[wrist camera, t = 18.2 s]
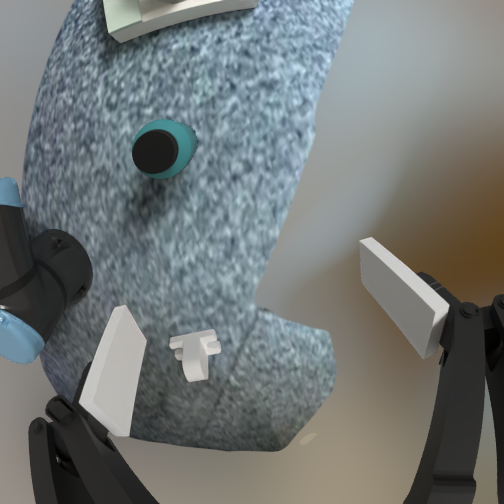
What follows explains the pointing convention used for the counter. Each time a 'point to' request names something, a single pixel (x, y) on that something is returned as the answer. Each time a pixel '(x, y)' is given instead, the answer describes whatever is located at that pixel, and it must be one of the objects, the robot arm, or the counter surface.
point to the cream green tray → (161, 14)
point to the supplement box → (172, 1)
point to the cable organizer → (195, 352)
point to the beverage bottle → (163, 148)
